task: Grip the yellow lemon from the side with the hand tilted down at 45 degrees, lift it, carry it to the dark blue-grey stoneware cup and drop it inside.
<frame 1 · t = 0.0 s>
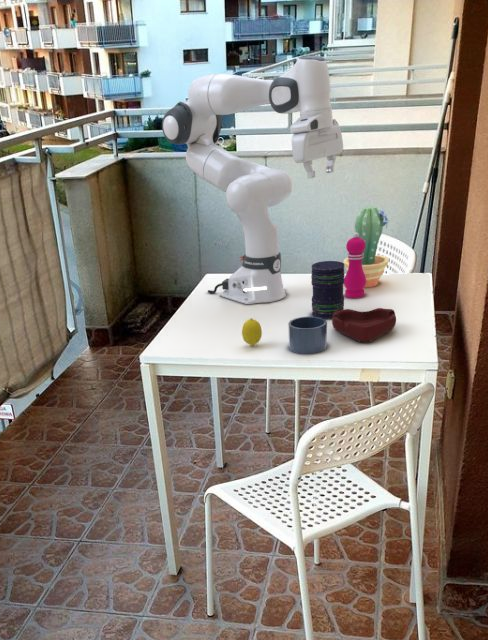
hand: (320, 175, 200), 39 cm above the table, tool pointing down, fingers open, 8 cm apart
cup: (307, 347, 191), on the table
pepper mill: (354, 296, 228), on the table
ashtray: (363, 335, 197), on the table
lemon: (252, 346, 196), on the table
dark blue barrel: (327, 314, 214), on the table
potted cactus: (365, 284, 238), on the table
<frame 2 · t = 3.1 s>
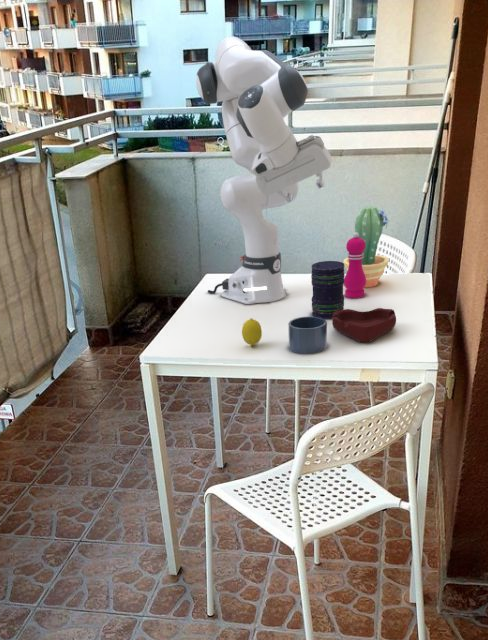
hand: (306, 193, 187), 37 cm above the table, tool tilted 35°, fingers open, 8 cm apart
nothing on the table moved.
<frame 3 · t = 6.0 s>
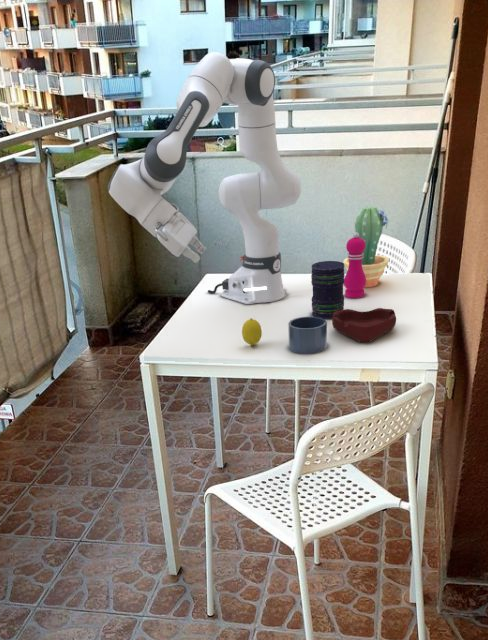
hand: (201, 256, 184), 25 cm above the table, tool tilted 45°, fingers open, 8 cm apart
nothing on the table moved.
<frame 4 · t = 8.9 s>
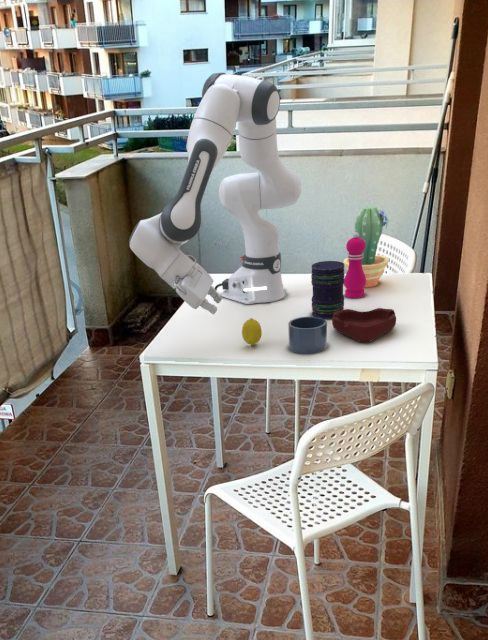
hand: (218, 306, 191), 12 cm above the table, tool tilted 45°, fingers open, 8 cm apart
nothing on the table moved.
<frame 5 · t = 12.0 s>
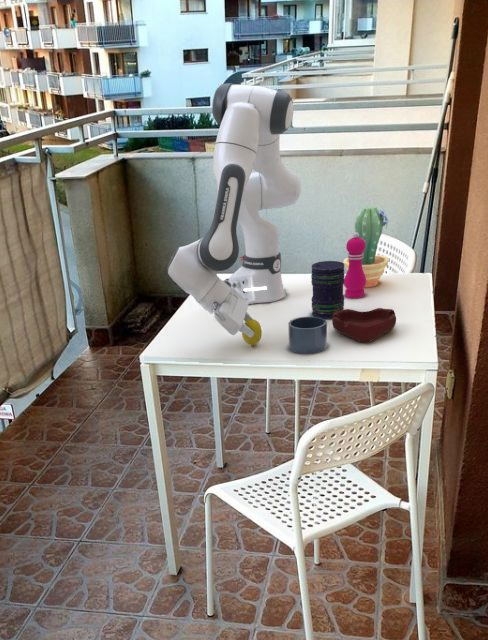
hand: (254, 330, 193), 4 cm above the table, tool tilted 45°, fingers closed on lemon, 5 cm apart
lemon: (252, 346, 196), on the table, touching gripper
everything else where it was.
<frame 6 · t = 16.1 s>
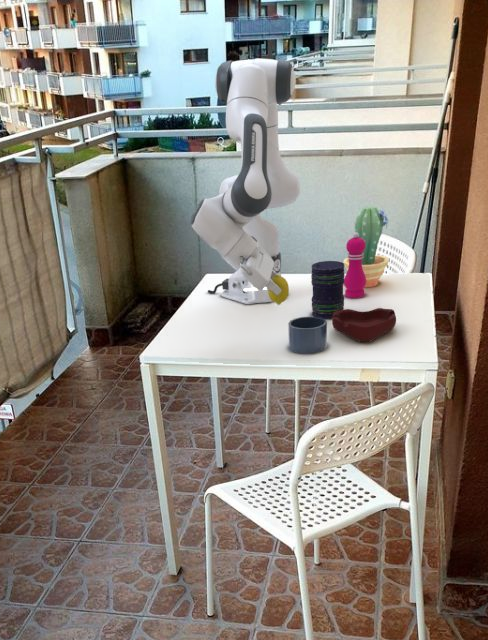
hand: (280, 288, 185), 16 cm above the table, tool tilted 45°, fingers closed on lemon, 5 cm apart
lemon: (278, 305, 187), point 12 cm above the table, touching gripper
everything else where it was.
when the fingers open (8 cm above the table, at t = 20.2 s): lemon drops 3 cm, resting on cup.
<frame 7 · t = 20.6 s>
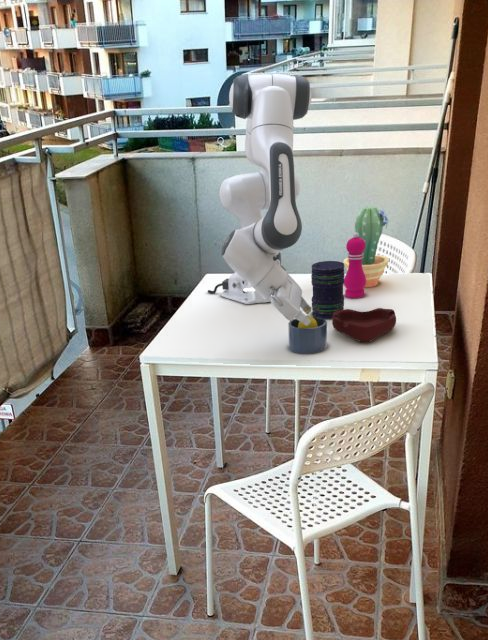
hand: (309, 317, 187), 8 cm above the table, tool tilted 45°, fingers open, 8 cm apart
lemon: (307, 344, 191), point 1 cm above the table, touching cup
everything else where it was.
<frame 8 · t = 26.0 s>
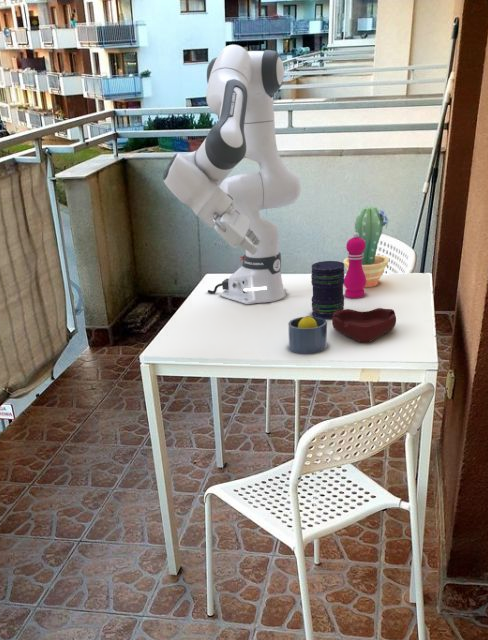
hand: (257, 247, 179), 27 cm above the table, tool tilted 45°, fingers open, 8 cm apart
nothing on the table moved.
at the end: lemon inside the target area in the cup (0.2 cm from its centre), point 0.6 cm above the cup's base; the gripper is holding nothing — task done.
